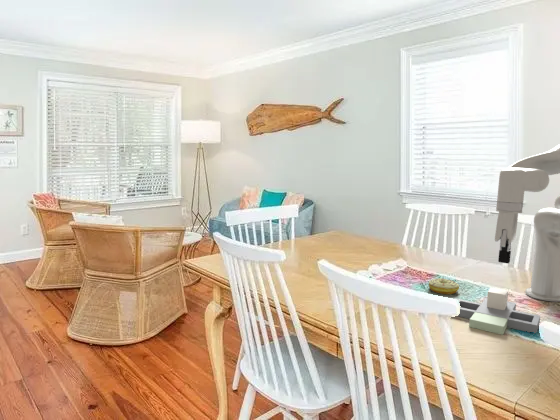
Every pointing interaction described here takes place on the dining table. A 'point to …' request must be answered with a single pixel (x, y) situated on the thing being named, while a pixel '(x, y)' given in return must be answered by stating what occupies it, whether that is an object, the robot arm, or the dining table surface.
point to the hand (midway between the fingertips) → (503, 262)
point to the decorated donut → (443, 286)
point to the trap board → (497, 317)
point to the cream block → (497, 298)
